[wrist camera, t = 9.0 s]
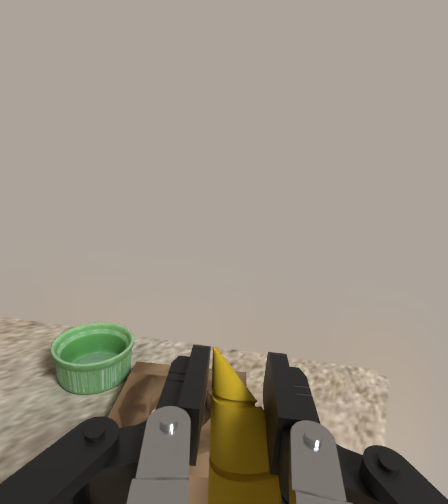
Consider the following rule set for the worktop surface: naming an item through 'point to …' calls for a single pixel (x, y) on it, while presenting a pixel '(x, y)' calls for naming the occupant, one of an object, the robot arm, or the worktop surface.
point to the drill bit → (237, 443)
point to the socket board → (146, 399)
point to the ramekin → (92, 357)
